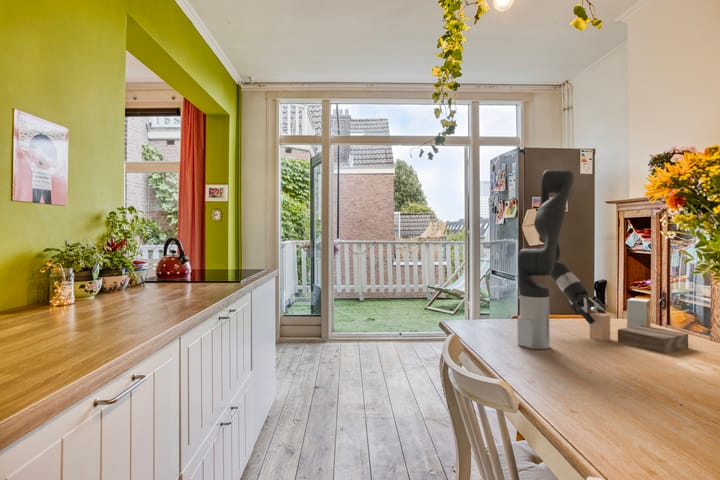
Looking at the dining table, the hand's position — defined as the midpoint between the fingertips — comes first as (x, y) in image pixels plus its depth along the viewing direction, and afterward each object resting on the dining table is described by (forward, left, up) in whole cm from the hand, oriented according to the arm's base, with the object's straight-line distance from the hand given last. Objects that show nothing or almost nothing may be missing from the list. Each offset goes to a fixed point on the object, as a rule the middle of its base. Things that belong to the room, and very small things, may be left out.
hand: (600, 321), depth 133 cm
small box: (+21, -1, -6) cm, 22 cm away
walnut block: (+8, -12, -7) cm, 16 cm away
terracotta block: (0, 0, -6) cm, 6 cm away
